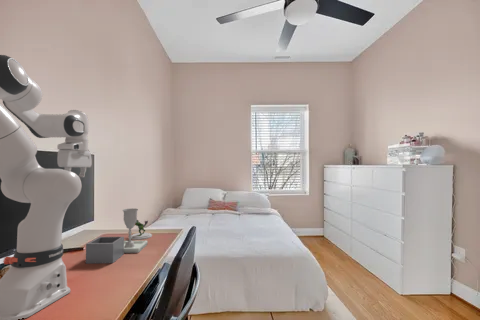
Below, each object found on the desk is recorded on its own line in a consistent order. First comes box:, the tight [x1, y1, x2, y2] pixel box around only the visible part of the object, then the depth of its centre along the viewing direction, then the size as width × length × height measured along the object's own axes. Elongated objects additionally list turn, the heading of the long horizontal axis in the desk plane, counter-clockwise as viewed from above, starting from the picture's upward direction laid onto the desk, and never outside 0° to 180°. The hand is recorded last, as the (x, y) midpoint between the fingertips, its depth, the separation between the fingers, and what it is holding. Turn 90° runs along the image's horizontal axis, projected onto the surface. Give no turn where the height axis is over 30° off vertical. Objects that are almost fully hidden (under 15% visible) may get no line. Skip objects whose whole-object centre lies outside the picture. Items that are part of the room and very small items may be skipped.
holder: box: [85, 236, 125, 264], centre depth 111 cm, size 11×11×8 cm
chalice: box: [122, 208, 139, 248], centre depth 125 cm, size 7×7×18 cm
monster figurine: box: [131, 219, 153, 241], centre depth 147 cm, size 12×12×10 cm
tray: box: [124, 240, 148, 254], centre depth 125 cm, size 13×13×2 cm
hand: (75, 177), depth 115 cm, fingers open, 8 cm apart
